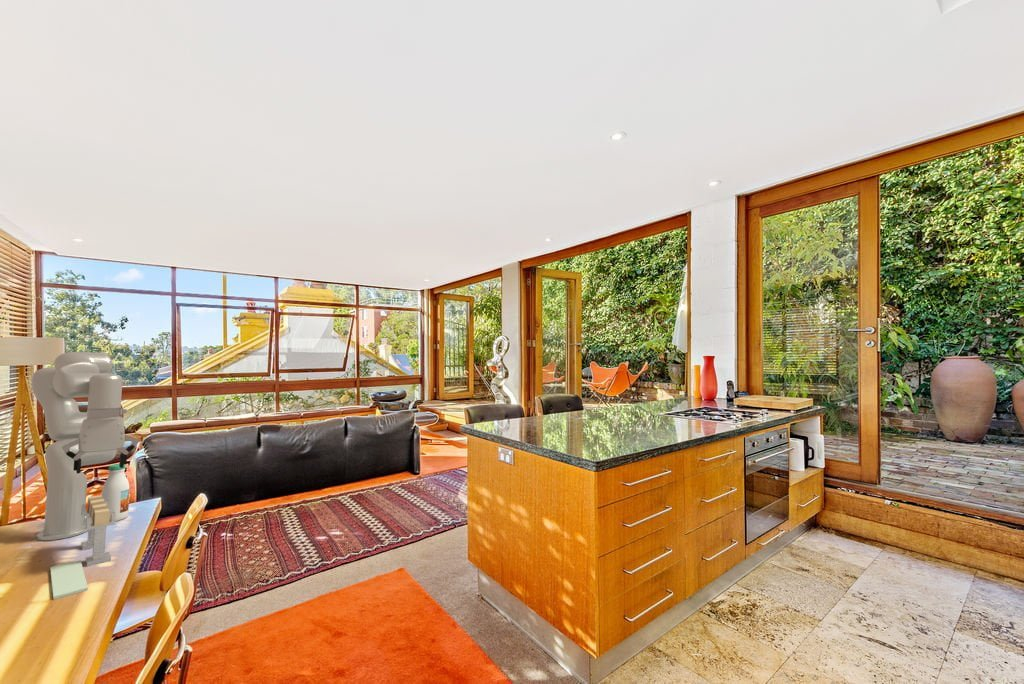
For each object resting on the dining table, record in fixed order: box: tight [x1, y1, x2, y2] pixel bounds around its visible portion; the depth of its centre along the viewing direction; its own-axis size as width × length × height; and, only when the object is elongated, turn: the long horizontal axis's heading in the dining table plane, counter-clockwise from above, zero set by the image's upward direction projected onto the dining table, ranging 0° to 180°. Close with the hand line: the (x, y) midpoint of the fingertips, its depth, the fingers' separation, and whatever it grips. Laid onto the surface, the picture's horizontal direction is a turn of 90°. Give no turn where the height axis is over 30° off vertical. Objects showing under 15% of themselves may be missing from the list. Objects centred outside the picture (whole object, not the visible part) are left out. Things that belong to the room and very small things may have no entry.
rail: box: [87, 494, 110, 527], centre depth 131 cm, size 22×3×4 cm, turn 49°
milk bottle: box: [100, 463, 130, 522], centre depth 159 cm, size 8×8×20 cm
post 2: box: [84, 511, 116, 567], centre depth 126 cm, size 5×6×13 cm
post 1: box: [80, 500, 109, 551], centre depth 136 cm, size 5×6×13 cm
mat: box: [49, 559, 89, 600], centre depth 114 cm, size 23×6×1 cm, turn 49°
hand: (100, 469), depth 132 cm, fingers open, 9 cm apart
